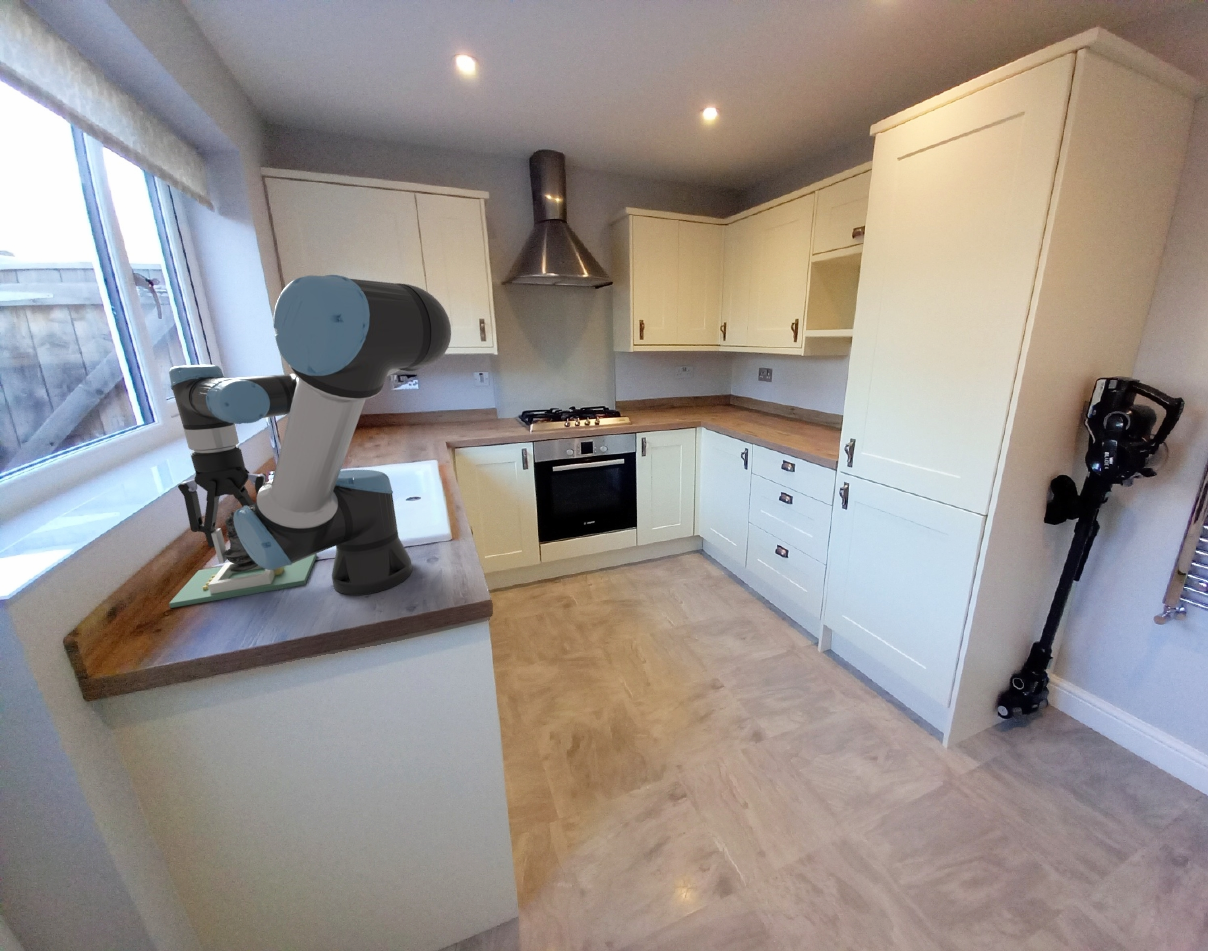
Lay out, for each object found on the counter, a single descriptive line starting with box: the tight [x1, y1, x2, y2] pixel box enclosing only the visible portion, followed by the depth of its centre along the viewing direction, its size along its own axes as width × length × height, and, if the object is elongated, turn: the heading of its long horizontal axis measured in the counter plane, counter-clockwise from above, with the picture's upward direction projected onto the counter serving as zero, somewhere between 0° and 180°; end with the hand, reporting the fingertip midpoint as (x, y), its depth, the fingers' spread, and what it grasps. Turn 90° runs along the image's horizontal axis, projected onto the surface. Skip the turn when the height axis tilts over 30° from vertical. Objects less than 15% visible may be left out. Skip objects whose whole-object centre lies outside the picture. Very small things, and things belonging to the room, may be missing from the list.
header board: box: [168, 553, 318, 609], centre depth 97 cm, size 22×14×3 cm, turn 112°
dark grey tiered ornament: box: [224, 511, 258, 572], centre depth 94 cm, size 6×6×12 cm
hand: (243, 557), depth 95 cm, fingers closed on dark grey tiered ornament, 6 cm apart
